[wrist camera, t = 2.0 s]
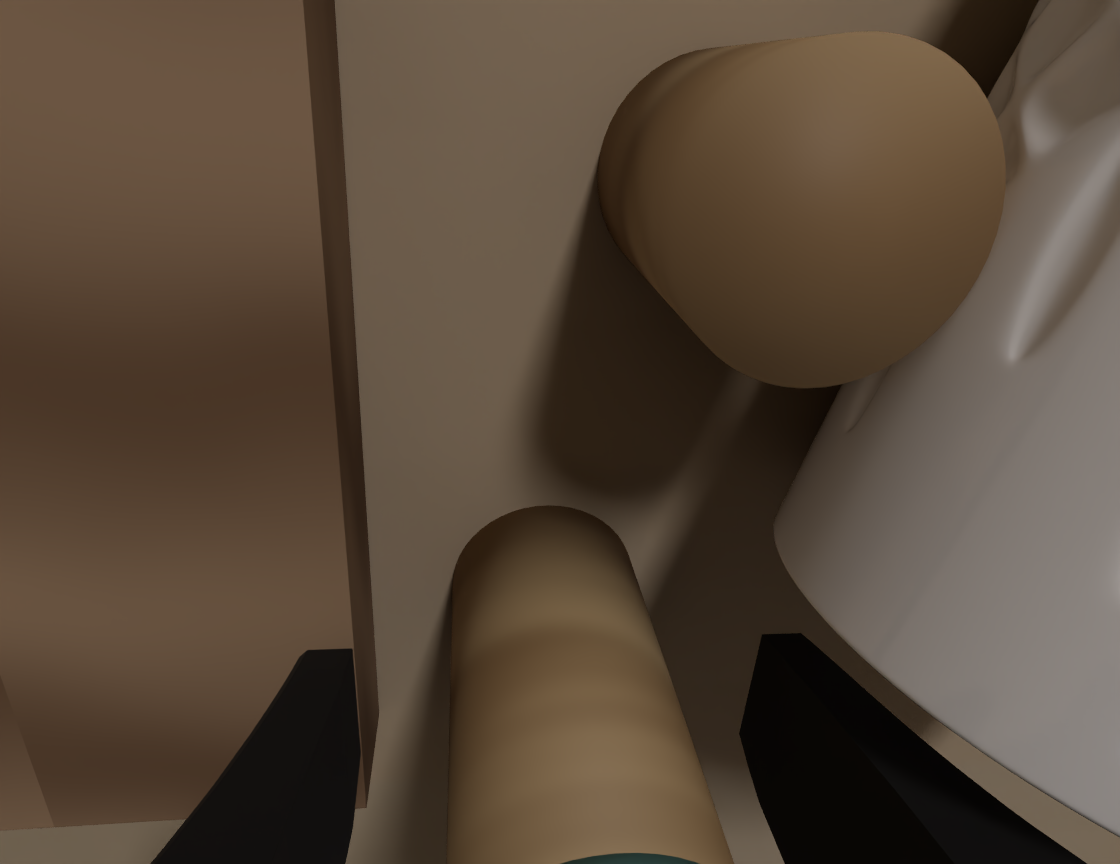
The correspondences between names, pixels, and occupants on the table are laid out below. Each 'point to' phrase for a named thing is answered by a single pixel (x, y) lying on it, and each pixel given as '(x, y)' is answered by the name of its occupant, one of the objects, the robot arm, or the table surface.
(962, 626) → the white cup
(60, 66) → the wooden board with hole
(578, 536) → the long dowel
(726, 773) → the table surface
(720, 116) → the short dowel
